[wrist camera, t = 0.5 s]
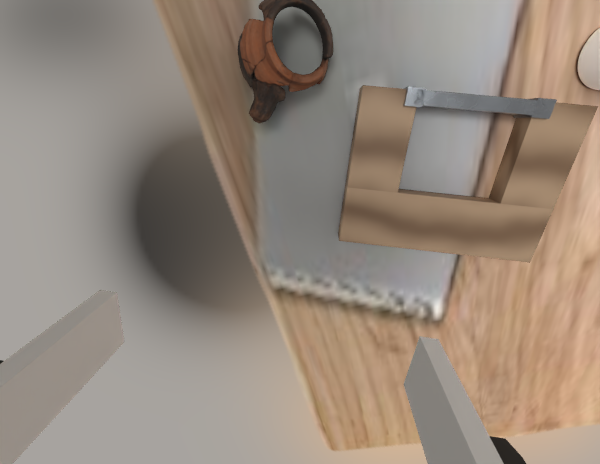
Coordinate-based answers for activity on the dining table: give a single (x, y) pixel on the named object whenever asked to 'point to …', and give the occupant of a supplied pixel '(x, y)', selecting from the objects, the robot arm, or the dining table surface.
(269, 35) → the pottery mug
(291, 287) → the dining table surface
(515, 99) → the cross rail
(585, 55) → the can
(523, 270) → the dining table surface
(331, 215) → the dining table surface
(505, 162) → the wooden frame board
